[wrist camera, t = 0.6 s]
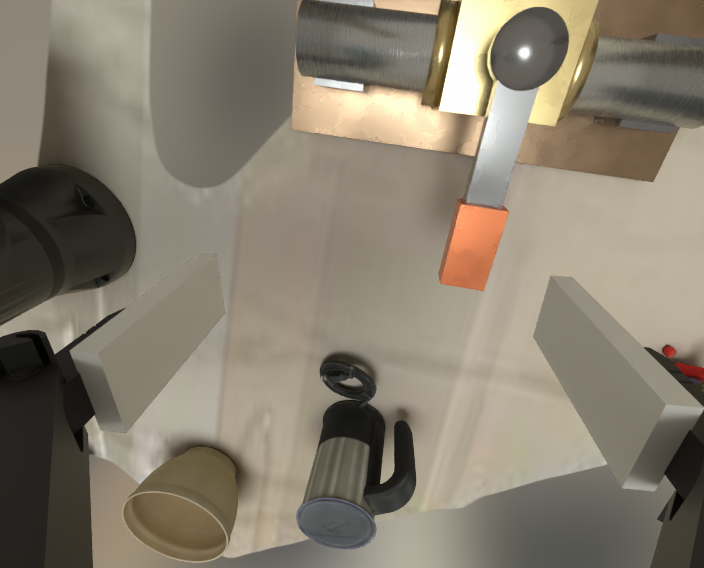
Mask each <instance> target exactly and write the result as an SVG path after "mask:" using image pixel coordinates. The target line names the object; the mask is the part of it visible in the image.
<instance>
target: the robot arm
mask: <svg viewBox="0 0 704 568" xmlns="http://www.w3.org/2000/svg"><path fill="white" fill-rule="evenodd" d="M134 255H135V237H134V232H133V228H132V225H131V223H130V220H129V218H128V216H127V214H126V212H125V210H124V209H123V207H122V206H121V204H120V203H119V201H118V200H117V199H116V197H115V196H114V195H113V194H112V193H111V192H110V191H109V190H108V189H107V188H106V187H105V186H104V185H103V184H101V183H100V182H99V181H98V180H96V179H95V178H93V177H92V176H90V175H88V174H87V173H85V172H83V171H81V170H78V169H76V168H73V167H69V166H65V165H45V166H39V167H33V168H29V169H26V170H23V171H21V172H19V173H17V174H15V175H14V176H12V177H11V178H9V179H7V180H6V181H5V182H3V183H1V184H0V326H1V325H3V324H5V323H6V322H8V321H10V320H12V319H14V318H16V317H17V316H19V315H21V314H23V313H25V312H26V311H28V310H30V309H32V308H34V307H36V306H37V305H39V304H41V303H43V302H45V301H47V300H48V299H50V298H52V297H54V296H58V295H64V294H69V293H75V292H80V291H86V290H91V289H97V288H100V287H103V286H105V285H107V284H109V283H111V282H113V281H114V280H116V279H118V278H119V277H121V276H122V275H124V274H125V273H126V272H127V270H128V269H129V268H130V266H131V264H132V262H133V259H134ZM224 314H225V308H224V301H223V295H222V288H221V282H220V275H219V269H218V262H217V256H216V255H210V254H198V255H196V256H195V257H194V258H192V259H191V260H190V261H188V262H187V263H186V264H184V265H183V266H182V267H180V268H179V269H178V270H176V271H175V272H174V273H172V274H171V275H170V276H168V277H167V278H166V279H164V280H163V281H162V282H160V283H159V284H158V285H156V286H155V287H154V288H152V289H151V290H150V291H148V292H147V293H146V294H144V295H143V296H142V297H140V298H139V299H138V300H136V301H135V302H134V303H132V304H131V305H130V306H128V307H127V308H124V309H122V310H119V311H117V312H115V313H113V314H110V315H108V316H107V317H106V318H104V319H103V320H101V321H100V322H99V323H97V324H96V326H93V327H92V328H91V329H89V330H88V331H86V334H82V335H81V336H80V337H78V338H77V339H75V340H74V341H73V342H71V343H70V344H69V345H67V346H66V347H65V348H63V349H62V350H60V351H59V352H58V353H56V354H55V355H54V352H53V350H52V347H51V345H50V343H49V340H48V338H47V336H46V333H45V332H42V331H39V330H27V331H21V332H16V333H12V334H9V335H5V336H2V337H0V568H93V559H92V558H93V557H92V530H91V502H90V475H89V447H88V433H87V431H86V429H85V426H84V425H85V424H86V423H87V422H88V421H89V420H90V419H91V418H92V417H93V416H94V415H95V417H96V420H97V422H98V425H99V427H100V430H102V431H111V432H120V433H127V432H128V430H129V429H130V428H131V427H132V425H133V424H134V423H135V422H136V421H137V419H138V418H139V417H140V416H141V415H142V413H143V412H144V411H145V410H146V409H147V407H148V406H149V405H150V404H151V402H152V401H153V400H154V399H155V398H156V396H157V395H158V394H159V393H160V392H161V390H162V389H163V388H164V387H165V385H166V384H167V383H168V382H169V381H170V379H171V378H172V377H173V376H174V375H175V373H176V372H177V371H178V370H179V368H180V367H181V366H182V365H183V364H184V362H185V361H186V360H187V359H188V358H189V356H190V355H191V354H192V353H193V352H194V350H195V349H196V348H197V347H198V345H199V344H200V343H201V342H202V341H203V339H204V338H205V337H206V336H207V335H208V333H209V332H210V331H211V330H212V328H213V327H214V326H215V325H216V324H217V322H218V321H219V320H220V319H221V318H222V316H223V315H224ZM533 337H534V339H535V341H536V342H537V344H538V346H539V347H540V349H541V351H542V353H543V354H544V356H545V358H546V359H547V361H548V363H549V364H550V366H551V368H552V370H553V371H554V373H555V375H556V376H557V378H558V380H559V382H560V383H561V385H562V387H563V388H564V390H565V392H566V393H567V395H568V397H569V399H570V400H571V402H572V404H573V405H574V407H575V409H576V411H577V412H578V414H579V416H580V417H581V419H582V421H583V422H584V424H585V426H586V428H587V429H588V431H589V433H590V434H591V436H592V438H593V440H594V441H595V443H596V445H597V446H598V448H599V450H600V451H601V453H602V455H603V457H604V458H605V460H606V462H607V463H608V465H609V467H610V468H611V470H612V472H613V473H614V475H615V477H616V478H617V480H618V482H619V484H620V486H621V487H622V488H627V489H637V490H646V491H655V490H656V489H657V487H658V485H659V483H660V482H661V480H662V479H663V477H664V475H666V476H667V478H668V479H669V481H670V482H671V483H672V485H673V486H674V487H675V489H676V490H675V492H674V493H673V495H672V496H671V498H670V500H669V501H668V503H667V504H666V506H665V507H664V509H663V511H662V512H661V514H660V515H659V517H658V518H657V519H658V520H659V521H661V522H663V525H662V529H661V532H660V536H659V539H658V543H657V546H656V550H655V553H654V557H653V561H652V564H651V567H650V568H704V392H703V391H702V390H701V389H700V388H699V387H698V386H697V385H695V384H693V381H692V380H691V379H689V378H688V377H687V376H686V375H685V374H682V371H681V370H680V369H679V368H678V367H677V366H676V365H675V364H673V363H672V362H671V361H670V360H669V359H668V358H666V357H664V356H663V355H661V354H659V353H658V352H656V351H654V350H653V349H651V348H647V347H642V346H641V345H640V344H639V343H638V342H637V341H636V340H635V339H634V338H633V337H632V336H631V335H630V334H629V333H628V332H627V331H626V330H625V329H624V328H623V327H622V326H621V325H620V324H619V323H618V322H617V321H616V320H615V319H614V318H613V317H612V316H611V315H610V314H609V313H608V312H607V311H606V310H605V309H604V308H603V307H602V306H601V305H600V304H599V303H598V302H597V301H596V300H595V299H594V298H593V297H592V296H591V295H590V294H589V293H588V292H587V291H586V290H585V289H584V288H583V287H582V286H581V285H580V284H579V283H578V282H576V281H575V280H574V279H573V278H572V277H564V276H550V280H549V283H548V287H547V290H546V294H545V297H544V301H543V304H542V308H541V311H540V314H539V318H538V321H537V325H536V328H535V332H534V335H533Z"/></svg>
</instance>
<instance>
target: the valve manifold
mask: <svg viewBox="0 0 704 568" xmlns="http://www.w3.org/2000/svg"><path fill="white" fill-rule="evenodd" d="M531 7H546V8H549V9H552V10H554V11H555V12H557V13H558V14H559V15H560V16H561V17H562V18H563V20H564V22H565V23H566V26H567V29H568V33H569V46H568V51H567V55H566V57H565V60H564V62H563V64H562V66H561V67H560V69H559V70H558V72H557V73H556V74H555V75H554V76H553V77H552V78H551V79H550V80H549V81H548V82H546V83H545V84H543V85H541V86H539V89H538V92H537V95H536V98H535V102H534V105H533V108H532V111H531V114H530V118H529V121H528V124H527V127H526V130H525V134H524V137H523V140H522V143H521V147H520V150H519V153H518V156H517V159H516V162H518V163H525V164H532V165H539V166H546V167H553V168H560V169H567V170H573V171H580V172H587V173H594V174H601V175H608V176H615V177H621V178H628V179H635V180H642V181H649V182H653V181H654V179H655V177H656V175H657V173H658V171H659V169H660V167H661V165H662V163H663V161H664V159H665V157H666V155H667V153H668V151H669V148H670V146H671V144H672V142H673V140H674V138H675V136H676V134H677V132H678V130H679V128H680V127H682V128H689V129H695V128H699V127H701V126H703V125H704V0H297V18H296V41H295V64H294V85H293V108H292V130H299V131H306V132H313V133H320V134H326V135H333V136H340V137H347V138H354V139H361V140H368V141H374V142H381V143H388V144H395V145H402V146H409V147H416V148H422V149H429V150H436V151H443V152H450V153H457V154H464V155H470V156H475V152H476V149H477V145H478V141H479V137H480V133H481V130H482V126H483V122H484V118H485V114H486V110H487V107H488V103H489V99H490V95H491V91H492V88H493V84H494V81H493V79H492V78H491V76H490V74H489V70H488V65H487V56H488V50H489V47H490V44H491V42H492V39H493V38H494V36H495V34H496V33H497V31H498V30H499V29H500V28H501V27H502V26H503V25H504V24H505V23H506V22H507V21H508V20H510V19H511V18H512V17H513V16H514V15H516V14H517V13H519V12H521V11H523V10H525V9H528V8H531Z"/></svg>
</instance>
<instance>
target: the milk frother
mask: <svg viewBox="0 0 704 568" xmlns="http://www.w3.org/2000/svg"><path fill="white" fill-rule="evenodd" d="M320 377H321V378H320V379H321V380H322V381H323V382H324V383H325V384H326V386H327V387H328V388H330V389H331V390H332V391H333V392H335V393H337V394H339V395H341V396H344V397H347V398H351V399H356V400H365V399H366V400H365V401H363V402H358V401H343V402H338V403H336V404H334V405H332V406H331V407H330V408H328V409H327V411H326V412H325V414H324V417H323V428H322V433H321V437H320V441H319V445H318V448H317V452H316V456H315V459H314V463H313V466H312V470H311V474H310V477H309V481H308V485H307V488H306V492H305V496H304V499H303V503H302V505H301V506H300V508H299V509H298V511H297V515H296V519H297V523H298V526H299V529H300V530H301V531H302V532H303V533H304V534H305V535H306V536H308V537H309V538H310V539H312V540H313V541H315V542H317V543H319V544H322V545H324V546H327V547H331V548H337V549H355V548H360V547H363V546H365V545H367V544H368V543H370V542H371V541H372V540H373V538H374V537H375V534H376V525H375V522H374V515H379V514H384V513H390V512H394V511H396V510H398V509H400V508H402V507H403V506H404V505H405V504H406V503H407V502H408V501H409V500H410V498H411V497H412V495H413V493H414V490H415V487H416V470H415V458H414V447H413V436H412V432H411V429H410V427H409V426H408V424H407V423H406V422H405V421H403V420H401V421H397V422H396V423H395V426H394V445H395V446H394V457H395V458H394V462H395V468H394V473H393V475H392V477H391V478H390V479H389V480H388V481H386V482H385V483H383V484H380V478H381V466H382V456H383V447H384V437H385V434H384V433H385V423H384V420H383V418H382V416H381V415H380V413H379V412H378V411H377V410H375V409H374V408H373V407H371V406H369V405H367V404H366V403H368V402H369V401H370V400H371V399H372V398H373V397H374V395H375V392H376V385H375V383H374V381H373V380H372V379H371V377H370V376H369V375H367V374H366V373H365V372H364V371H362V370H361V369H359V368H358V367H356V366H354V365H352V364H349V363H347V362H344V361H340V360H328V361H326V362H324V363H323V364H322V365H321V368H320ZM353 377H355V378H357V379H358V380H359V381H361V382H362V384H363V385H364V387H365V390H364V391H360V392H356V391H351V390H347V389H345V388H343V387H341V386H339V385H337V384H336V383H338V382H341V381H345V380H347V379H348V378H351V379H352V378H353Z"/></svg>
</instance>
